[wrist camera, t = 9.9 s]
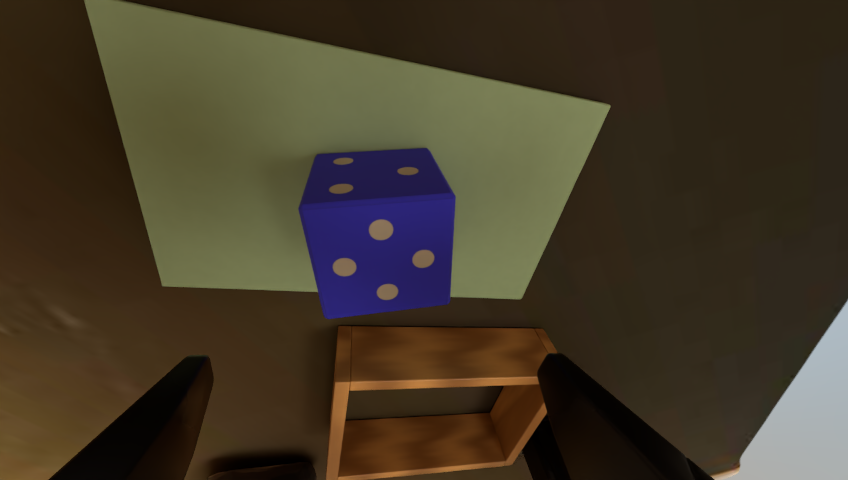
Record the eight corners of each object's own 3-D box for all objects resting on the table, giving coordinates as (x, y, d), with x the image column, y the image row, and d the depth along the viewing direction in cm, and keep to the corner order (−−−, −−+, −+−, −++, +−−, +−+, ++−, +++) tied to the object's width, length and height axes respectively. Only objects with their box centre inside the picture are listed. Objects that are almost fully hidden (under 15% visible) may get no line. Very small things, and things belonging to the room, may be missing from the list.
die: (332, 249, 17) (324, 322, 13) (314, 153, 14) (296, 206, 10) (428, 240, 18) (450, 306, 13) (429, 146, 15) (457, 194, 11)
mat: (603, 102, 16) (611, 105, 15) (517, 293, 22) (521, 299, 21) (93, -6, 11) (80, -8, 10) (167, 279, 17) (161, 286, 16)
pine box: (543, 328, 24) (572, 376, 21) (495, 417, 30) (511, 465, 27) (338, 325, 21) (334, 382, 17) (329, 426, 27) (325, 484, 23)
